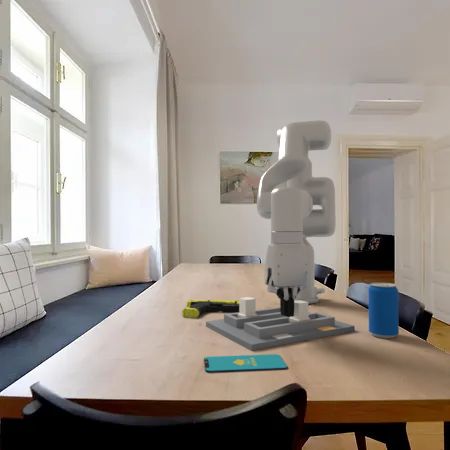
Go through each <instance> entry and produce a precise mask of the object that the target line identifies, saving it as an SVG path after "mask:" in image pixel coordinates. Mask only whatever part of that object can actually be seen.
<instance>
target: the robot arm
mask: <svg viewBox="0 0 450 450" xmlns="http://www.w3.org/2000/svg"><path fill="white" fill-rule="evenodd" d="M276 141H277V145H278V158H277V161H276V162H275V163H273V164H272V165H271V166H270V167H269V168H267V170H266V171H265V172H264V174H263V175H262V176H261V178H260V181H259V184H258V191H257V198H256V209H257V210H256V211H257V213H258V215H259V216H260V218H263V219H265V220H268V219H269V220H270V243H271V244H268V245H267V249H266V255H265V263H264V285H266V286H267V293H268V292H269V293H272V294H276V296H277V298H278V299H279V302H280V303H279V304H280V305H279V307H280V311H281V315H283V316H286V317H290V316H291V317H293V316H294V301H298V300H301V301H305V302H308V305H309V304H316V303H318V302H320V297H319V296H318V295H320V294H324V293H326V290H325V288H324V287H319V288H318V287H316V286H315V250H314V247H313V246H312V244H311V243H310V242H309V241H308V238H327V237H328V238H329V237H332V236H333V235H334V234H335V232H336V216H337V215H336V188H335V183H334V181H333V179H331V178H329V177H326V176H317V177H315V176H314V177H313V170H312V168H313V165H312V161H311V159H310V158H309V151H324V150H328V149H329V148H330V145H331V142H332V130H331V127H330V124H329V123H328V121H326V120H308V121H307V120H306V121H296V122H291V123H287V124H286V125H285V126H282V127H280V128H279V129H278V130H277V132H276ZM285 182H286V186H285V187H284V186H283V187H277V186H278V185H280V184H283V183H285ZM276 187H277V188H276ZM314 206H319V207H321V209H319V208H317V209H313V207H314Z"/></svg>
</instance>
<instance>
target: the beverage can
mask: <svg viewBox="0 0 450 450" xmlns="http://www.w3.org/2000/svg"><path fill="white" fill-rule="evenodd" d="M369 284H370V285H369V287H368V332H369V333H371V335H372V336H374V337H377V338H380V339H393V338H395V337H396V336H398V335H399V334H400V333H399V330H400V328H399V327H400V326H399V325H400V323H399V322H400V321H399V320H400V319H399V290H398V288H397V284H395V283H390V282H371V283H369Z"/></svg>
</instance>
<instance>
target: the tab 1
mask: <svg viewBox="0 0 450 450" xmlns="http://www.w3.org/2000/svg"><path fill="white" fill-rule="evenodd" d="M238 300H239V314H238V318H242V317H249V316H256V315H257V314H256V310H257V309H256V298H254V297H250V296H246V297H239V299H238Z"/></svg>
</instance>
